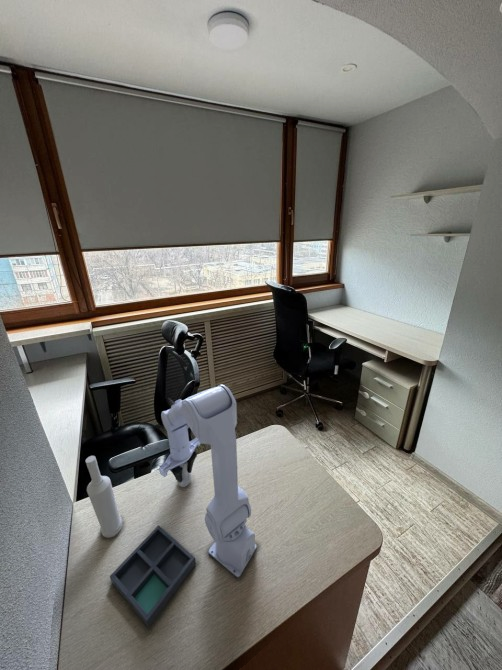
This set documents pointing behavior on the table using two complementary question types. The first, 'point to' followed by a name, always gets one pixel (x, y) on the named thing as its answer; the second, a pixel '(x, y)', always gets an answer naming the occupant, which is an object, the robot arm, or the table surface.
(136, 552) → the tray
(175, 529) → the table surface
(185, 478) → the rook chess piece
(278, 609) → the table surface
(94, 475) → the bottle
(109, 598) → the table surface
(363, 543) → the table surface
